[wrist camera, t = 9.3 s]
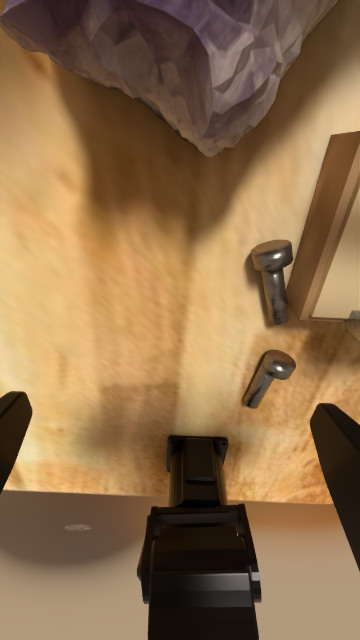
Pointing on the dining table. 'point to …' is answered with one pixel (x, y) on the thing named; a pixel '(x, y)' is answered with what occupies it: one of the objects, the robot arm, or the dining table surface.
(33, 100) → the dining table surface
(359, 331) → the block
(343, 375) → the dining table surface
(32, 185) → the dining table surface
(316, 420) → the robot arm
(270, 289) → the bolt
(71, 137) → the dining table surface
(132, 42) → the geode
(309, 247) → the stand
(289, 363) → the bolt
